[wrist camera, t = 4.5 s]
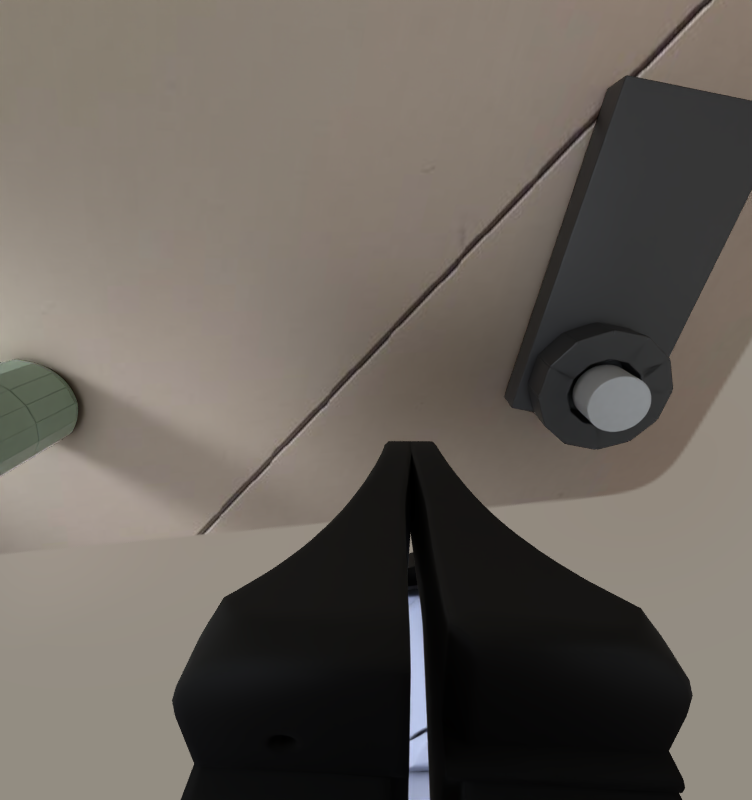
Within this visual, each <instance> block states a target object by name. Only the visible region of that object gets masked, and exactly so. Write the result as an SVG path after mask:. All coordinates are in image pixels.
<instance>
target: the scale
mask: <svg viewBox="0 0 752 800" xmlns="http://www.w3.org/2000/svg"><path fill="white" fill-rule="evenodd" d="M751 190H752V101H751V100H746V99H741V98H736V97H731V96H726V95H721V94H716V93H711V92H707V91H702V90H697V89H692V88H687V87H682V86H677V85H672V84H667V83H662V82H657V81H653V80H648V79H643V78H638V77H633V76H628V75H627V76H625V77H624V78H622V79H621V80H619V81H618V82H616V83H615V84H614V85H612V86H611V87H609V88H608V89H607V92H606V95H605V98H604V101H603V104H602V107H601V110H600V113H599V116H598V119H597V122H596V125H595V128H594V131H593V134H592V137H591V140H590V143H589V146H588V149H587V152H586V155H585V158H584V161H583V164H582V167H581V170H580V173H579V176H578V179H577V182H576V185H575V188H574V191H573V194H572V197H571V200H570V203H569V206H568V208H567V211H566V214H565V217H564V220H563V223H562V226H561V229H560V232H559V235H558V238H557V241H556V244H555V247H554V250H553V253H552V256H551V259H550V262H549V265H548V268H547V271H546V274H545V277H544V280H543V283H542V286H541V289H540V292H539V295H538V298H537V301H536V304H535V307H534V310H533V313H532V316H531V319H530V322H529V325H528V328H527V331H526V334H525V337H524V340H523V343H522V346H521V349H520V352H519V355H518V358H517V361H516V364H515V367H514V370H513V373H512V376H511V379H510V381H509V384H508V387H507V390H506V393H505V398H506V400H507V402H508V403H509V405H510V406H511V408H516V409H521V410H526V411H532V412H535V414H536V415H537V416H538V418H539V419H540V420H541V422H542V423H543V424H544V426H545V427H546V428H547V429H549V430H550V431H551V432H552V433H553V434H554V435H555V436H556V437H558V438H559V439H560V440H561V441H562V442H563V443H564V444H568V445H573V446H579V447H584V448H589V449H594V450H595V449H602V448H605V447H609V446H613V445H617V444H621V443H625V442H628V441H630V440H632V439H633V438H635V437H636V436H637V435H639V434H640V433H641V432H642V431H644V430H645V429H646V428H648V427H649V426H650V425H652V424H653V423H654V422H656V419H658V418H659V416H660V414H661V412H662V410H663V408H664V406H665V404H666V403H667V401H668V399H669V397H670V395H671V393H672V390H673V384H672V373H671V361H670V358H669V356H670V354H671V352H672V350H673V348H674V346H675V344H676V342H677V340H678V338H679V336H680V334H681V332H682V330H683V328H684V326H685V324H686V322H687V320H688V318H689V316H690V314H691V312H692V310H693V308H694V306H695V303H696V301H697V299H698V297H699V295H700V293H701V291H702V289H703V287H704V285H705V283H706V281H707V279H708V277H709V275H710V273H711V271H712V269H713V267H714V265H715V263H716V261H717V259H718V257H719V255H720V253H721V251H722V249H723V247H724V245H725V243H726V241H727V239H728V237H729V235H730V233H731V231H732V229H733V227H734V225H735V222H736V220H737V218H738V216H739V214H740V212H741V210H742V208H743V206H744V204H745V202H746V200H747V198H748V196H749V194H750V192H751ZM599 365H615V366H618V367H620V368H622V369H623V370H625V371H627V372H628V373H630V374H632V375H633V376H635V377H637V378H638V379H640V380H642V381H643V382H644V383H645V384H646V385H647V386H648V388H649V390H650V393H651V405H650V408H649V410H648V412H647V414H646V415H645V417H644V418H643V419H642V420H641V421H640V422H639V423H637V424H636V425H634V426H633V427H631V428H629V429H626V430H623V431H617V432H609V431H604V430H601V429H599V428H597V427H596V426H594V425H593V424H592V423H591V422H590V421H589V420H588V419H587V418H586V417H585V416H584V415H583V414H582V413H581V412H580V411H579V410H578V409H577V408H576V406H575V405H574V402H573V397H572V393H573V388H574V385H575V383H576V382H577V380H578V379H579V377H580V376H581V375H582V374H583V373H585V372H586V371H588V370H589V369H591V368H593V367H596V366H599Z"/></svg>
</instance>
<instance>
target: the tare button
mask: <svg viewBox="0 0 752 800" xmlns="http://www.w3.org/2000/svg"><path fill="white" fill-rule="evenodd" d="M572 397H573V402H574V405H575V406H576V408H577V409H578V410H579V411H580V412H581V413H582V414H583V415H584V416H585V417H586V418H587V419H588V420H589V421H590V422H591V423H592V424H593V425H594V426H596V427H597V428H599V429H601V430H604V431H609V432H617V431H623V430H626V429H629V428H631V427H633V426H634V425H636V424H637V423H639V422H640V421H641V420H642V419H643V418H644V417H645V415H646V414H647V412H648V410H649V408H650V405H651V393H650V390H649V388H648V386H647V385H646V384H645V383H644V382H643V381H642V380H640V379H638V378H637V377H635V376H633V375H632V374H630V373H628V372H627V371H625V370H623V369H622V368H620V367H618V366H615V365H599V366H596V367H593V368H591V369H589V370H588V371H586V372H585V373H583V374H582V375H581V376H580V377H579V379H578V380H577V382H576V383H575V385H574V388H573V393H572Z"/></svg>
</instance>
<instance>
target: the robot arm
mask: <svg viewBox="0 0 752 800" xmlns="http://www.w3.org/2000/svg"><path fill="white" fill-rule="evenodd" d="M410 533H411V539H412V546H413V554H414V561H415V569H416V576H417V583H418V585H414V586H408V580H407V573H408V560H409V547H410ZM691 699H692V691H691V686H690V681H689V679H688V677H687V676H686V674H685V673H684V671H683V669H682V668H681V666H680V665H679V663H678V661H677V660H676V658H675V657H674V655H673V653H672V652H671V650H670V649H669V647H668V646H667V644H666V642H665V641H664V640H663V638H662V636H661V635H660V634H659V632H658V631H657V630H656V628H655V627H654V626H653V624H652V623H651V622H650V621H649V619H648V618H647V616H646V615H645V613H644V612H643V611H642V609H641V608H639V607H637V606H635V605H633V604H631V603H629V602H628V601H625V600H624V599H622V598H620V597H618V596H616V595H614V594H612V593H610V592H608V591H606V590H605V589H603V588H601V587H599V586H597V585H595V584H593V583H591V582H589V581H587V580H586V579H584V578H582V577H580V576H579V575H577V574H575V573H574V572H572V571H570V570H569V569H567V568H566V567H564V566H562V565H561V564H559V563H557V562H556V561H554V560H553V559H551V558H550V557H548V556H546V555H545V554H544V553H542V552H540V551H539V550H538V549H536V548H535V547H533V546H532V545H531V544H529V543H528V542H527V541H525V540H524V539H523V538H521V537H520V536H518V535H517V534H516V533H515V532H513V531H512V530H511V529H509V528H508V527H507V526H506V525H505V524H503V523H502V522H501V521H500V520H499V519H498V518H497V517H495V516H494V515H493V514H492V513H491V512H490V511H489V510H488V509H487V508H486V507H485V506H484V505H483V504H482V503H481V502H480V501H479V500H478V499H477V498H476V497H475V496H474V495H473V494H472V492H471V491H470V490H469V489H468V488H467V487H466V486H465V484H464V483H463V482H462V481H461V480H460V478H459V477H458V476H457V475H456V473H455V472H454V471H453V470H452V468H451V467H450V466H449V464H448V463H447V461H446V460H445V459H444V457H443V456H442V454H441V453H440V451H439V449H438V448H437V446H436V445H435V444H434V443H433V442H430V441H389V442H387V443H386V444H385V446H384V449H383V451H382V453H381V455H380V457H379V459H378V461H377V463H376V465H375V466H374V468H373V470H372V471H371V473H370V474H369V476H368V477H367V479H366V480H365V482H364V483H363V485H362V486H361V487H360V489H359V490H358V491H357V493H356V494H355V495H354V496H353V498H352V499H351V500H350V502H349V503H348V504H347V505H346V506H345V507H344V509H343V510H342V511H341V512H340V513H339V514H338V515H337V516H336V517H335V518H334V519H333V520H332V521H331V522H330V523H329V524H328V525H327V526H326V527H325V528H324V529H323V530H322V531H321V532H320V533H318V534H317V535H316V536H315V537H314V538H313V539H312V540H311V541H310V542H308V543H307V544H306V545H305V546H304V547H302V548H301V549H300V550H298V551H297V552H296V553H294V554H293V555H292V556H290V557H289V558H288V559H286V560H285V561H283V562H282V563H281V564H279V565H278V566H277V567H275V568H273V569H272V570H270V571H268V572H267V573H265V574H264V575H262V576H260V577H259V578H257V579H255V580H254V581H252V582H250V583H249V584H247V585H245V586H243V587H242V588H240V589H238V590H237V591H235V592H233V593H231V594H229V595H228V596H226V597H224V598H223V600H222V602H221V603H220V605H219V606H218V608H217V610H216V611H215V613H214V615H213V616H212V618H211V619H210V621H209V622H208V624H207V626H206V627H205V629H204V631H203V632H202V634H201V636H200V638H199V640H198V642H197V644H196V646H195V648H194V650H193V652H192V654H191V657H190V659H189V661H188V663H187V665H186V667H185V669H184V671H183V674H182V675H181V677H180V680H179V681H178V684H177V686H176V689H175V692H174V696H173V699H172V702H173V707H174V713H175V716H176V719H177V722H178V724H179V727H180V729H181V732H182V734H183V737H184V739H185V742H186V744H187V747H188V749H189V752H190V754H191V757H192V759H193V762H194V766H193V769H192V771H191V774H190V777H189V779H188V782H187V785H186V787H185V790H184V792H183V795H182V798H181V800H682V798H681V796H680V794H679V793H682V792H683V791H684V789H685V785H684V780H683V778H682V776H681V774H680V772H679V770H678V768H677V766H676V764H675V762H674V760H673V758H672V756H671V754H670V752H669V749H670V748H671V746H672V743H673V742H674V740H675V738H676V736H677V734H678V732H679V730H680V728H681V726H682V724H683V722H684V720H685V718H686V716H687V713H688V710H689V707H690V703H691Z"/></svg>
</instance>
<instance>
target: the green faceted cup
mask: <svg viewBox="0 0 752 800" xmlns="http://www.w3.org/2000/svg"><path fill="white" fill-rule="evenodd" d="M77 416H78V404H77V400H76V397H75V395H74V393H73V391H72V389H71V388H70V386H69V385H68V384H67V383H66V382H65V380H64V379H63V378H61V377H60V376H59V375H58V374H57V373H55V372H54V371H52V370H50V369H48V368H46V367H44V366H41V365H38V364H36V363H33V362H28V361H23V360H18V359H14V360H9V361H4V362H0V477H2V476H3V475H5V474H6V473H8V472H10V471H11V470H13V469H15V468H16V467H18V466H20V465H21V464H23V463H25V462H26V461H28V460H30V459H31V458H33V457H35V456H36V455H38V454H40V453H41V452H43V451H45V450H46V449H48V448H50V447H51V446H53V445H54V444H56V443H58V442H59V441H61V440H63V439H64V438H65V437H67V436H68V435H69V434H71V433H72V431H73V429H74V427H75V424H76V422H77Z"/></svg>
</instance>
